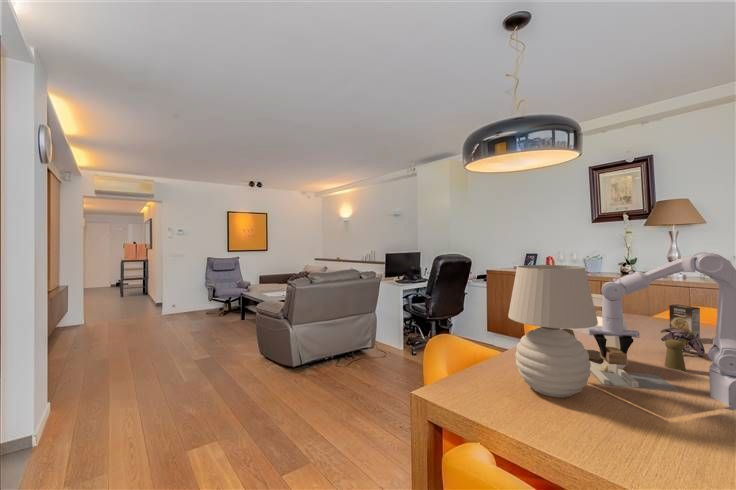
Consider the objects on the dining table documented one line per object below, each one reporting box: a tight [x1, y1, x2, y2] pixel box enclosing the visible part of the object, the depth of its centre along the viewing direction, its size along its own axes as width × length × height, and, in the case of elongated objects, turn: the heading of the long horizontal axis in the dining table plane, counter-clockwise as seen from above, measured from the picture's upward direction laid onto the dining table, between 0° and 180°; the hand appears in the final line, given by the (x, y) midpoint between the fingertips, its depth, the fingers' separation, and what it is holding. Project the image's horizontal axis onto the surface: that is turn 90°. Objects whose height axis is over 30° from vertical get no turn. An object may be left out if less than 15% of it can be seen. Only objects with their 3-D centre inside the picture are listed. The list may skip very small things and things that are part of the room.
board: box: [590, 365, 682, 393], centre depth 112 cm, size 14×21×3 cm, turn 73°
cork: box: [664, 339, 687, 373], centre depth 122 cm, size 6×6×11 cm
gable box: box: [560, 293, 629, 373], centre depth 130 cm, size 22×13×28 cm, turn 38°
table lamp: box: [507, 264, 598, 399], centre depth 107 cm, size 25×25×40 cm
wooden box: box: [599, 346, 628, 366], centre depth 113 cm, size 8×5×4 cm, turn 163°
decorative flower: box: [660, 327, 706, 358], centre depth 138 cm, size 14×12×15 cm
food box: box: [668, 304, 701, 341], centre depth 158 cm, size 9×6×16 cm
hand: (613, 357), depth 113 cm, fingers closed on wooden box, 5 cm apart
